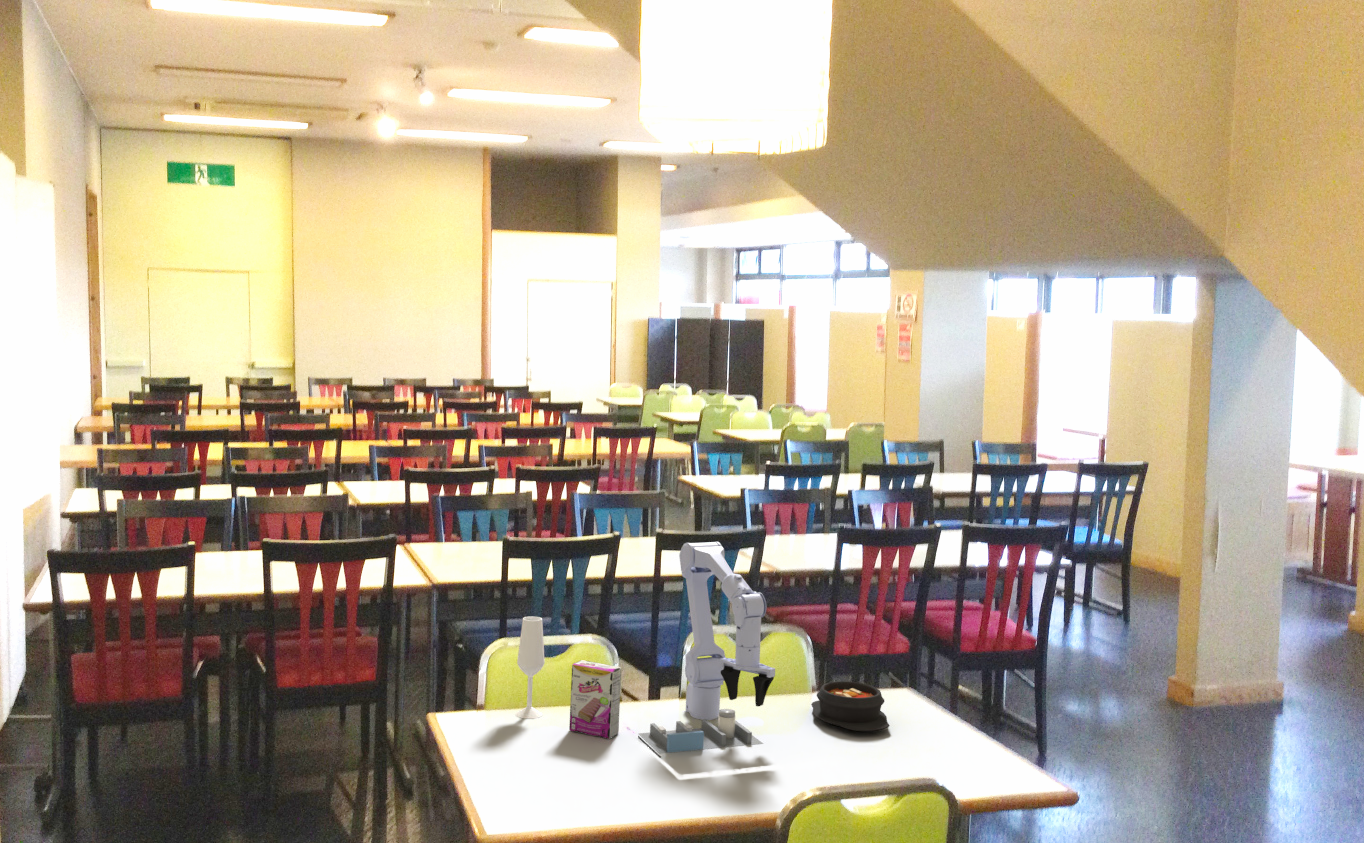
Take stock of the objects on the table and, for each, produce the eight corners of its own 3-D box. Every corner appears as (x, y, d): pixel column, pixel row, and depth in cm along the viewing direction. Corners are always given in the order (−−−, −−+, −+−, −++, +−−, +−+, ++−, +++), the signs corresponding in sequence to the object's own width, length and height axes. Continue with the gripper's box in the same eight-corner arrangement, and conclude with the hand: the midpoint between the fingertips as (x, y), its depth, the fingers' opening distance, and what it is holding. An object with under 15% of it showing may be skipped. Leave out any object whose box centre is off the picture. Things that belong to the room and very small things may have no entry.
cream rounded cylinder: (714, 734, 287) (716, 709, 286) (730, 732, 288) (731, 708, 288) (721, 739, 283) (722, 714, 282) (737, 738, 284) (738, 713, 284)
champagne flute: (536, 719, 294) (539, 623, 293) (510, 716, 296) (514, 620, 294) (546, 712, 301) (550, 617, 299) (521, 708, 302) (525, 614, 301)
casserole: (907, 735, 296) (908, 701, 295) (839, 740, 289) (841, 706, 289) (858, 704, 319) (859, 673, 318) (794, 709, 312) (795, 677, 312)
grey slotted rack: (637, 737, 285) (638, 716, 284) (737, 728, 294) (738, 708, 294) (659, 757, 272) (660, 736, 271) (763, 747, 282) (764, 726, 281)
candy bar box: (568, 731, 287) (570, 663, 286) (578, 725, 291) (581, 659, 290) (609, 740, 282) (612, 671, 281) (619, 734, 287) (622, 666, 285)
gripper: (713, 642, 284) (711, 699, 284) (763, 652, 275) (761, 711, 275) (730, 637, 289) (729, 693, 290) (781, 647, 280) (779, 705, 281)
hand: (746, 702), depth 283 cm, fingers open, 7 cm apart
